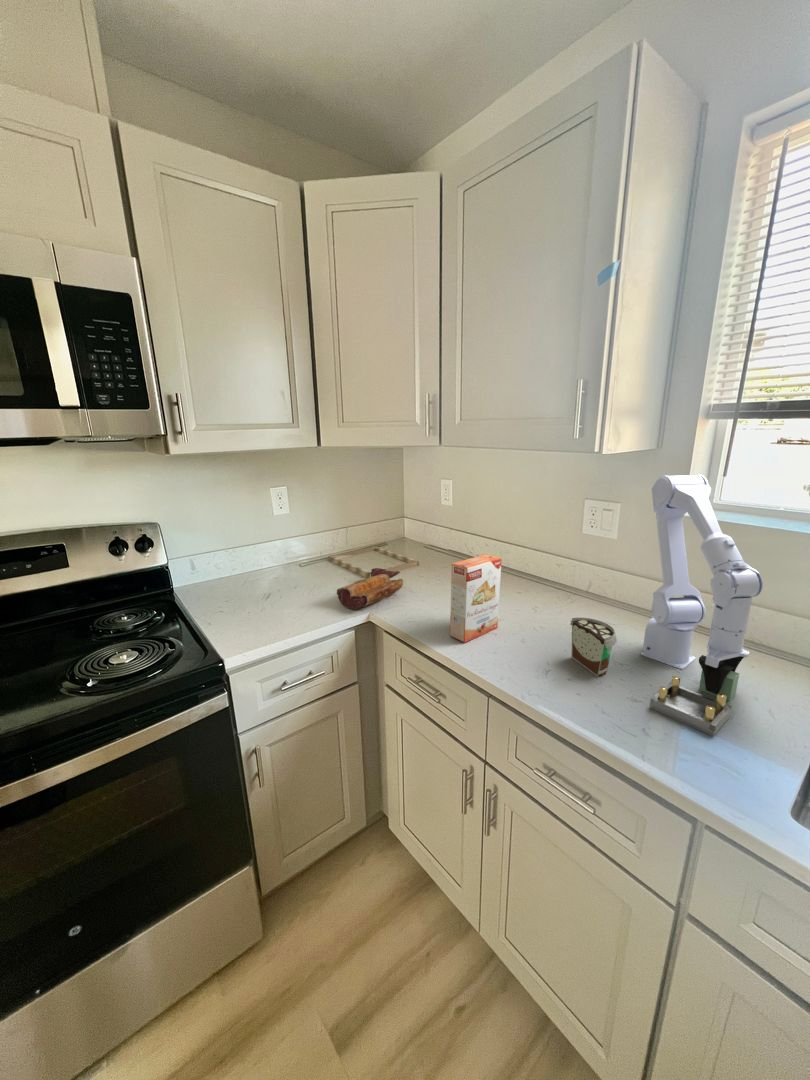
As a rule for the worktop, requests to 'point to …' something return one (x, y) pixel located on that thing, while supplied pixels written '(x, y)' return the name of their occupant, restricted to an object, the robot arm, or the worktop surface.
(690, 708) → the chassis
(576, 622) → the food container
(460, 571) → the cracker box
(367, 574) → the rim
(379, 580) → the cured meat
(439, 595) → the worktop surface
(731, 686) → the block
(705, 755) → the worktop surface
